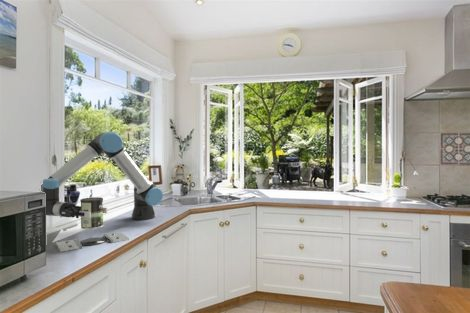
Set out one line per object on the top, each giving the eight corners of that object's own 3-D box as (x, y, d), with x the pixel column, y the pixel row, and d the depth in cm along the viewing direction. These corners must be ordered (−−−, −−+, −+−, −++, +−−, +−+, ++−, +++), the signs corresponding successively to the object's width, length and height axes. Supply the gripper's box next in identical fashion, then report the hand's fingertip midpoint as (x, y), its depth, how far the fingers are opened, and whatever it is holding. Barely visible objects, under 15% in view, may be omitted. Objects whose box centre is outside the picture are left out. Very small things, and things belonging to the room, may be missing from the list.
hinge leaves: (120, 233, 173) (120, 231, 173) (128, 239, 161) (128, 236, 161) (55, 244, 154) (55, 241, 154) (60, 251, 143) (60, 248, 143)
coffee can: (104, 223, 164) (104, 196, 163) (102, 228, 154) (101, 199, 154) (82, 225, 161) (82, 197, 160) (78, 230, 151) (78, 200, 151)
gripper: (82, 212, 174) (115, 215, 166) (45, 221, 153) (80, 225, 145) (82, 199, 174) (114, 201, 166) (45, 206, 153) (80, 209, 145)
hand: (98, 212), depth 156 cm, fingers closed on coffee can, 10 cm apart
